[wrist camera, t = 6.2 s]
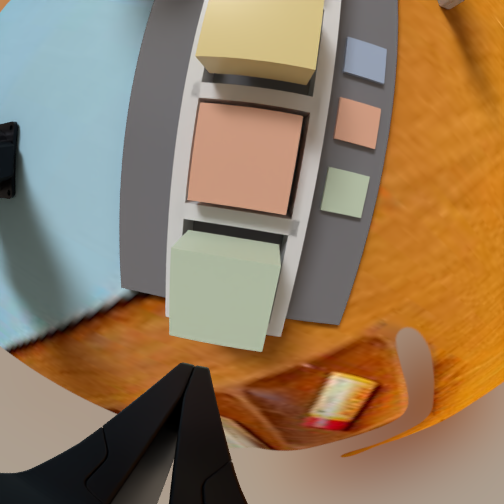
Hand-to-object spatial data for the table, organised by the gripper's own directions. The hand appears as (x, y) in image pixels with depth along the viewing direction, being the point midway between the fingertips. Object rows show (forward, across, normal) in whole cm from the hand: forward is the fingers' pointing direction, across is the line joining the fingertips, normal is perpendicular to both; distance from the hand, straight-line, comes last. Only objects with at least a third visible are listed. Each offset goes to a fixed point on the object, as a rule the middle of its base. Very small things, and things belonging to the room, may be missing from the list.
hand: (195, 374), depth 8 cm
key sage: (+7, 0, 0) cm, 7 cm away
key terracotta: (+9, 0, -6) cm, 11 cm away
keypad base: (+10, 0, -9) cm, 14 cm away
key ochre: (+7, 0, -12) cm, 14 cm away
